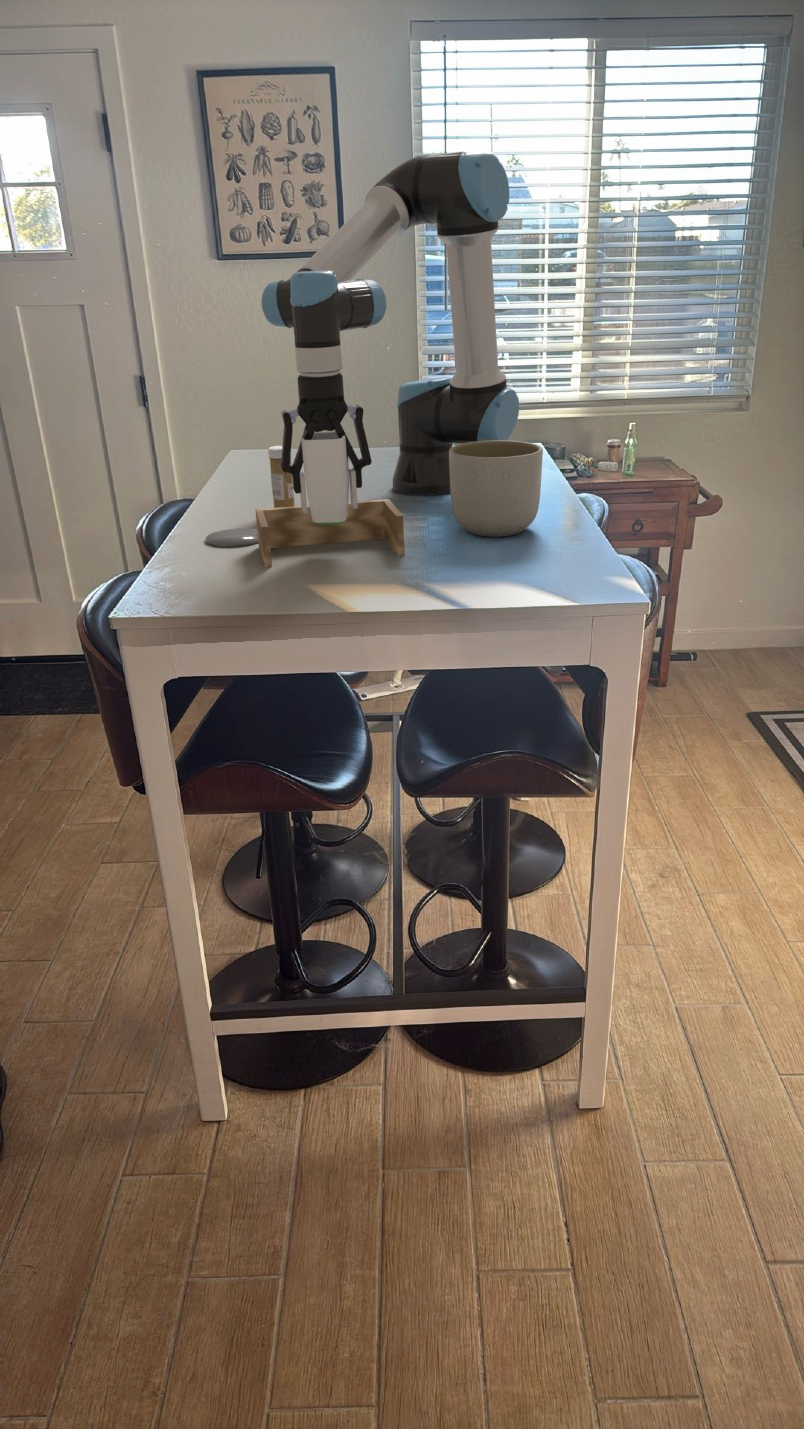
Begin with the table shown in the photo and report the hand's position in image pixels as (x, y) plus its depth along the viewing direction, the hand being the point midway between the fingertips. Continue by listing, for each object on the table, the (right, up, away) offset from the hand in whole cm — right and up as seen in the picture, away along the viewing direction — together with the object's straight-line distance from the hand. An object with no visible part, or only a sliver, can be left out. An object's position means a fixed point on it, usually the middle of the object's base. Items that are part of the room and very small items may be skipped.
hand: (329, 508), depth 174 cm
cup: (0, -2, +1) cm, 3 cm away
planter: (+30, -2, +13) cm, 33 cm away
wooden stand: (0, -7, +3) cm, 8 cm away
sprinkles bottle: (-11, +5, +30) cm, 32 cm away
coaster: (-19, -3, +13) cm, 23 cm away
